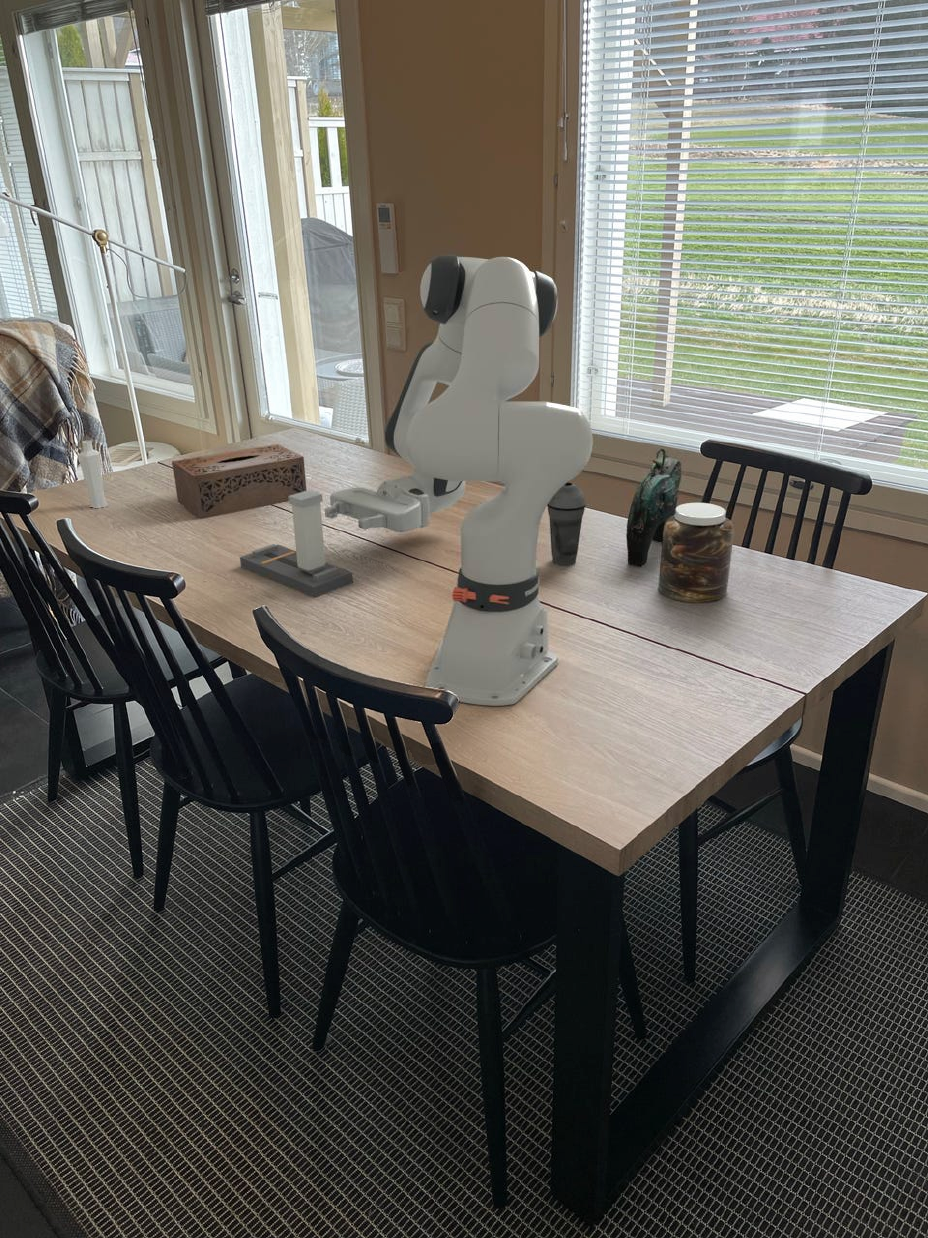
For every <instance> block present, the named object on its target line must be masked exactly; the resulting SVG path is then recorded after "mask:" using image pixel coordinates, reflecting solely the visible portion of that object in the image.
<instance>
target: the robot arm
mask: <svg viewBox="0 0 928 1238" xmlns="http://www.w3.org/2000/svg"><path fill="white" fill-rule="evenodd" d="M419 288H420V289H419V290H420V291H419V292H420V300H421V303H422V311H423V312H424V313H425V315H426V317H427V318H428V319H429V320H432V321H435V322H437V323H440V324H439V326H438V331H437V335H436V337H435V339H434V341H430V342H428V343H426V344H425V345H423V347H422V348H421V349H420V350H419V351H418V354H417V356H416V357H415V359H414V362H413V364H412V366H411V368H410V371H409V374H408V376H407V378H406V381H405V383H404V386H403V388H402V391H401V394H400V396H399V399H398V401H397V404H396V407H395V408H394V410H393V411H392V413H391V415H390V416H389V417H388V419H387V422H386V424H385V426H384V427H385V429H384V442H385V444H386V447H387V448H388V449H389V450H390V451H392V452H393V453H394V454H396V455H397V456H399V457H400V458H403V459H404V460H405V461H406V462H407V463H408V464H409V465H410V466H412V467H413V473H412V474H410V475H402V476H400V477H399V476H398V477H395V478H391V479H389V480H386V481H383V482H382V483H381V484H380V485H379V486H378V488H377V491H375V490H372V489H367V488H364V487H351V488H346V489H342V490H337V491H335V492H334V491H333V492H332V493H331V494H330V496H329V502H330V506H329V507H326V508H324V516H325V517H326V518H329V519H335V518H338V515H339V514H340V515H342V516H346V517H350V518H352V519H355V520H357V523H358V528H360V529H362V530H369V529H373V528H374V529H376V528H377V529H378V528H384V529H387V530H390V531H393V532H397V533H407V532H410V531H413V530H416V529H419V528H420V529H423V528H427V527H429V526H430V515H431V514H434V513H438V512H440V511H442V510H445V509H446V508H449V507H450V506H451V505H454V504H455V503H457V502H458V501H459V500H460V499H461V498H462V497H463V495H464V493H465V489H466V482H498V483H502V484H504V487H503V489H502V490H501V491H500V493H498V495H496V496H494V497H492V498H491V499H489V500H486V501H484V502H482V503H480V504H478V505H477V506H475V507H473V508H472V509H471V510H469V512H468V513H467V514H466V515H465V516H464V518H463V520H462V523H461V526H460V548H461V549H460V561H461V562H460V565H461V566H460V568H459V570H458V576H457V579H456V587H454V588H453V590H452V596H451V597H452V600H453V605H452V609H451V611H450V615H449V618H448V622H447V626H446V628H445V631H444V632H445V633H444V636H443V639H441V640H440V644H439V645H438V648H437V651H436V653H435V656H434V659H433V661H432V663H431V666H430V669H429V671H428V674H427V677H426V679H425V683H424V687H425V686H427V687H433V688H438V689H444V690H449V691H451V692H453V693H454V694H456V695H457V697H458V698H459V700H460V702H459V703H464V704H465V703H466V704H469V705H470V704H472V705H477V706H478V705H480V706H494V707H495V706H496V707H497V706H508V705H509V706H510V705H514V704H516V703H518V702H519V701H520V700H521V699H522V698H523V697H524V696H525V695H527V694H528V692H529V691H531V690H532V689H533V688H534V687H535V686H536V685H537V684H539V682H540V681H541V680H543V678H544V677H546V675H548V674H549V672H551V671H552V670H553V669H554V668H555V667H556V666H557V665H558V664H559V659H558V655H557V654H555V653H554V652H552V651H550V650H549V628H548V627H549V624H548V623H549V622H548V611H547V610H546V608H545V607H544V606H543V605H542V603H541V602H540V600H539V598H538V595H539V586H540V577H539V569H538V568H537V552H538V551H537V548H538V538H539V530H540V525H541V522H542V521H541V520H542V519H543V518H542V517H543V514H544V513H545V510H546V508H547V507H548V506H547V505H548V503H549V501H550V500H551V499H552V497H553V496H554V495H555V493H556V492H557V491H558V490H559V489H560V488H561V487H562V486H563V485H564V484H566V483H567V482H569V481H571V480H573V479H574V478H575V477H577V476H578V475H579V474H580V473H581V472H582V471H583V470H584V469H585V467H586V466H587V464H588V462H589V460H590V459H591V454H592V453H593V452H592V451H593V445H594V444H593V443H594V439H593V438H594V437H593V431H592V428H591V425H590V422H589V420H588V419H587V417H586V415H585V414H584V413H583V411H581V409H580V408H578V407H574V406H571V405H566V404H561V403H556V402H550V401H508V400H510V399H512V398H514V397H517V395H520V394H521V393H523V392H524V391H525V390H527V388H528V387H529V386H530V385H531V384H532V382H533V381H534V380H535V378H536V377H537V374H538V372H539V369H540V368H539V367H540V338H543V336H545V334H547V333H548V332H549V330H550V329H551V327H552V325H553V322H554V321H555V317H556V315H557V312H558V311H557V310H558V305H559V304H558V301H559V300H558V289H557V285H556V283H555V281H554V280H553V278H552V277H550V276H548V275H547V274H544V273H542V272H540V271H537V270H532V271H531V270H529V268H528V267H527V266H526V265H525V264H524V263H523V262H521V261H519V260H518V259H516V258H513V257H509V256H499V257H498V256H496V257H493V258H490V259H486V258H481V257H480V258H479V257H471V256H470V257H468V256H458V255H457V254H454V253H453V254H452V253H451V254H450V253H446V254H439V255H436V256H435V257H434V258H432V259H431V260H430V261H429V263H428V266H427V267H426V269H425V271H424V272H423V274H422V278H421V281H420V287H419ZM437 383H441V384H445V385H447V386H448V387H447V388H446V389H445V390H444V391H443V392H442V393H441V394H440V395H439V396H438V397H436V398H435V399H434V400H432V401H431V402H429V401H430V399H431V397H432V394H433V393H434V390H435V388H436V385H437Z"/></svg>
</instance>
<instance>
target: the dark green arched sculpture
mask: <svg viewBox="0 0 928 1238" xmlns="http://www.w3.org/2000/svg"><path fill="white" fill-rule="evenodd" d="M661 452H662V455H663V456H662V457H659V454H660V453H661ZM655 457H656V459H652V463H653V464H652V466H651V468H650V471H649V472H648V473H646V474H645V476H644V478H643V479H642V480H641V482H640V484H638V486H637V488H636V490H635V493H634V495H633V499H632V501H631V505H630V509H629V514H628V517H627V522H626V523H627V524H626V548H627V549H626V550H627V564H628V565H629V566H634V567H639V568H642V567H644V566H645V565H646V563H647V562H648V556H649V550H650V548H651V544H652V541H653V542H654V543H659V544H660V543H661V544H662V541H663V532H664V525H665V521H666V520H667V518H669V517H670V516H672V515H675V510H676V507H677V506H678V505H677V504H678V499H679V489H680V483H681V482H682V481H681V480H682V462H681V461H680V460H679V459H677V458H676V459H675V458H671V457H670V456H669V454H668V453H667V450H665V449H663V448H661V447H660V448H658V450H656V453H655Z"/></svg>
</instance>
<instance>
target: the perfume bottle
mask: <svg viewBox="0 0 928 1238" xmlns="http://www.w3.org/2000/svg"><path fill="white" fill-rule="evenodd" d="M92 442H93V441H92V440H90V439H89V440H84V441H81V443H82V448H83V451H81V452H80V453H79V454H77V457H78V460H79V464H80V468H81V471H82V475H83V478H84V482H85V487H86V489H87V493H88V496H89V500H90V501H89V508H90V507H93V508H92V509H94V508H99V509H102V508H101V507H104V508H107V507H108V504H107V501H106V498H105V493H104V483H103V476H102V468H101V460H100V452H99V451H98V450H96V449H93V444H92ZM106 506H107V507H106Z"/></svg>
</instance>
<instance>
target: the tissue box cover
mask: <svg viewBox="0 0 928 1238" xmlns="http://www.w3.org/2000/svg"><path fill="white" fill-rule="evenodd" d="M171 464H172V469H173V476H174V479H173V480H174V483H175V485H174V486H175V490H176V498H177V503H178V502H179V503H180V504H179V503H178V504H179V505H180V506H182V505H183V506H184V507H185V508H184V507H183V506H182V507H183V508H184V509H186V510H187V511H188V510H189V511H188V512H189V513H191V514H192V515H193V516H194V517H196V518H197V519H199V520H203V519H208V518H214V517H218V516H222V515H223V516H224V515H227V514H233V513H237V512H238V513H239V512H243V511H248V510H254V509H258V508H263V507H268V506H273V504H274V505H277V503H278V504H283V503H287V502H288V503H289V496H291V495H294V494H297V493H301V492H304V491H307V490H308V489H307V481H306V469H305V468H306V467H305V458H304V456H303V455H301V454H299V453H297V452H295V451H293V450H291V449H289V448H287V447H285V446H283V445H281V444H279V443H275V444H269V445H262V446H256V447H250V448H249V447H248V448H245V449H244V448H243V449H237V450H230V451H226V452H220V453H214V454H208V455H202V456H196V457H195V456H194V457H188V458H184V459H178V460H172V461H171ZM282 502H283V503H282Z"/></svg>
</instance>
